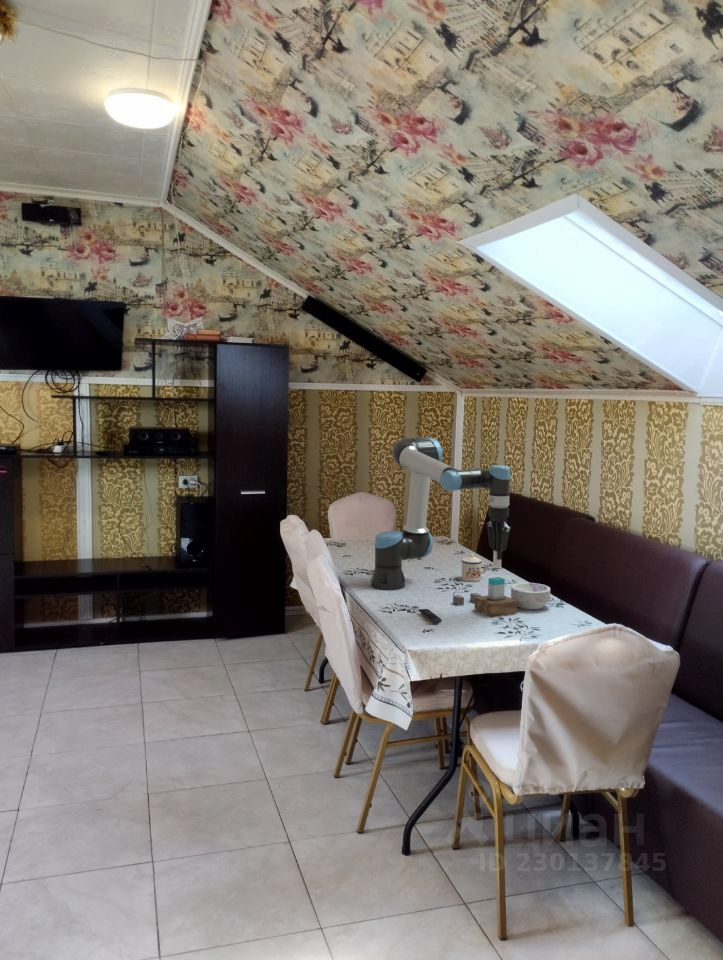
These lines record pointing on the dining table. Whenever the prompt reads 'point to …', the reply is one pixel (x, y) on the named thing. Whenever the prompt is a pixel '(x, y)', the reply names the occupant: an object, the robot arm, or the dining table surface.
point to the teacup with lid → (472, 568)
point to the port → (495, 606)
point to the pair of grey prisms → (460, 600)
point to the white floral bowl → (530, 595)
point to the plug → (496, 589)
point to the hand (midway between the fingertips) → (497, 567)
